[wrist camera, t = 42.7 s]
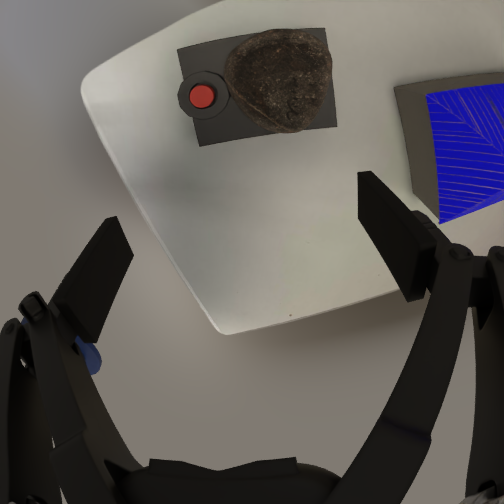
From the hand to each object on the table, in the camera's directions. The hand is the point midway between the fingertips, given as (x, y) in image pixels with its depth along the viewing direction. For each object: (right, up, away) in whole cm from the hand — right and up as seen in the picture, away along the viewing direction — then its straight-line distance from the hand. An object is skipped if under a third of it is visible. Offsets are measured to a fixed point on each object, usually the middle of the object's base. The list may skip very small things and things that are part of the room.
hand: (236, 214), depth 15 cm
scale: (+2, +17, +14) cm, 22 cm away
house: (+32, +16, +15) cm, 39 cm away
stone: (+4, +16, +13) cm, 21 cm away
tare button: (-4, +14, +12) cm, 19 cm away
